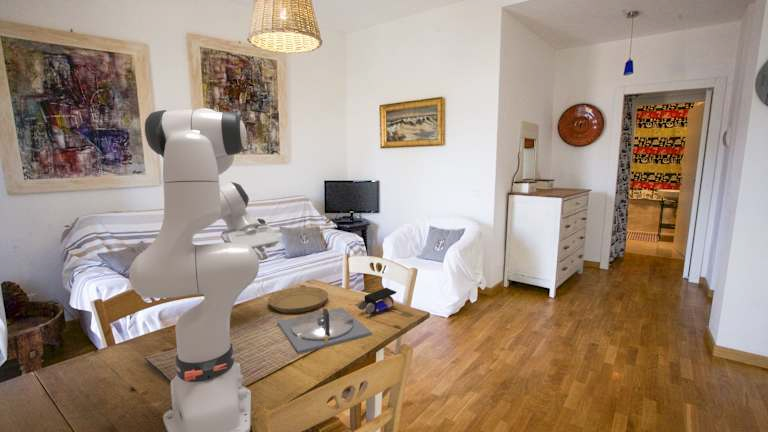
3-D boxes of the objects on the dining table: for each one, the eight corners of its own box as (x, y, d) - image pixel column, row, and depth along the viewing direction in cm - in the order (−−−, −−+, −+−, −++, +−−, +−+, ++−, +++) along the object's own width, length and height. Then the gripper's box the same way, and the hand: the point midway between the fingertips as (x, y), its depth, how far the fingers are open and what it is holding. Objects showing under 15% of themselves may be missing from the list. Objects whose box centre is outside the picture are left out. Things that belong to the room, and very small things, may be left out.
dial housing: (371, 334, 125) (371, 326, 124) (298, 354, 112) (297, 344, 112) (341, 309, 146) (341, 302, 146) (277, 323, 134) (277, 315, 133)
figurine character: (370, 323, 137) (398, 307, 147) (367, 303, 136) (396, 289, 146) (358, 317, 142) (386, 303, 152) (356, 299, 141) (384, 285, 151)
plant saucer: (276, 321, 137) (276, 312, 137) (262, 300, 158) (261, 293, 157) (337, 307, 149) (337, 299, 149) (316, 290, 170) (316, 283, 169)
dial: (289, 318, 136) (288, 295, 135) (346, 310, 142) (345, 289, 141) (294, 344, 116) (293, 318, 115) (359, 334, 122) (359, 309, 121)
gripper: (223, 225, 121) (245, 259, 118) (269, 219, 139) (289, 248, 136) (214, 237, 124) (235, 271, 121) (260, 229, 142) (280, 258, 139)
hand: (264, 258), depth 128 cm, fingers closed
